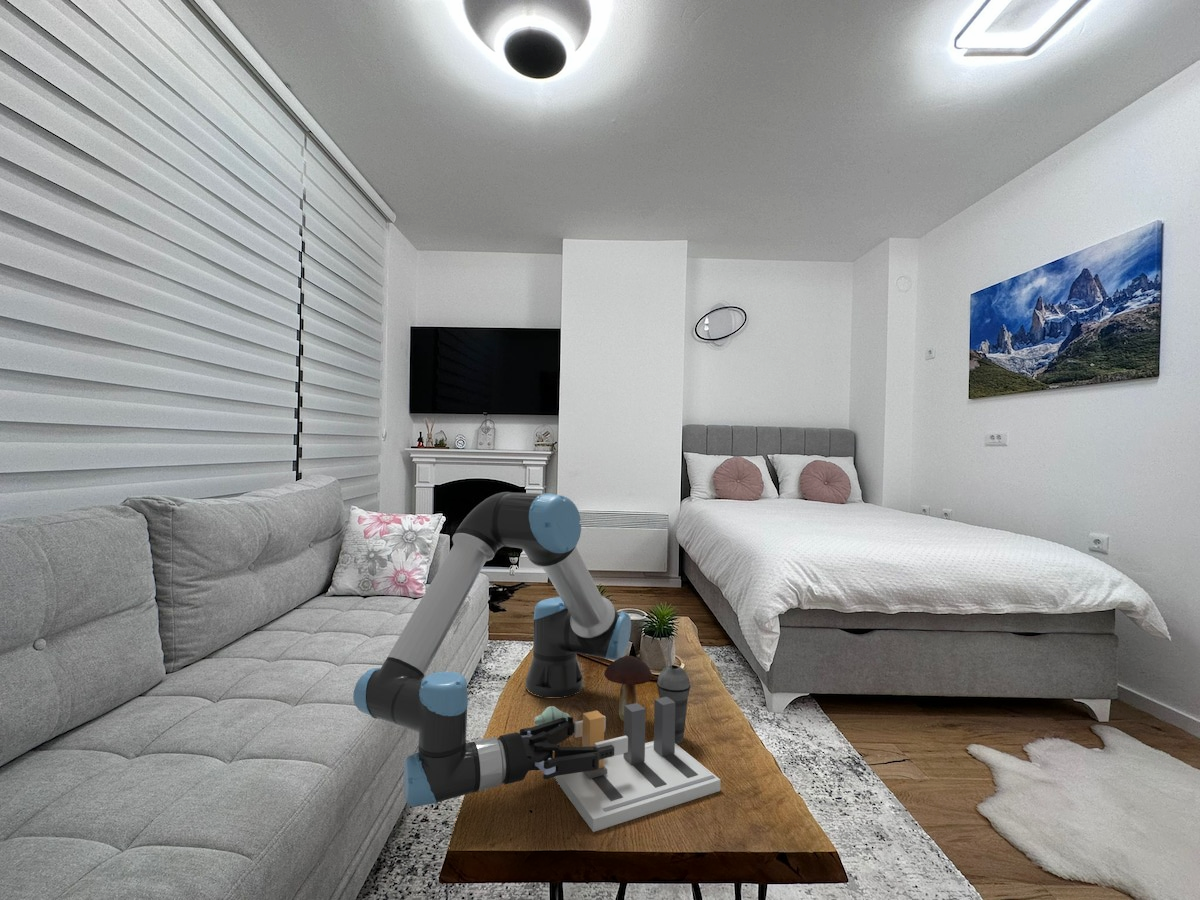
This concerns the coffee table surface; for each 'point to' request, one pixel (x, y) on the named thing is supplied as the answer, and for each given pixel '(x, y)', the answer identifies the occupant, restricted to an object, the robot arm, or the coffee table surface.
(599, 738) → the breaker handle
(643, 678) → the decorative mushroom
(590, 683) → the coffee table surface
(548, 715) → the green toy bird
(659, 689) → the beverage cup
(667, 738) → the slotted peg board
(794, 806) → the coffee table surface
